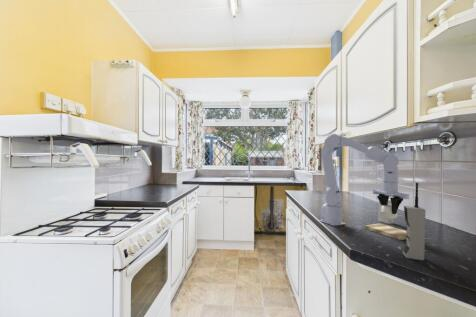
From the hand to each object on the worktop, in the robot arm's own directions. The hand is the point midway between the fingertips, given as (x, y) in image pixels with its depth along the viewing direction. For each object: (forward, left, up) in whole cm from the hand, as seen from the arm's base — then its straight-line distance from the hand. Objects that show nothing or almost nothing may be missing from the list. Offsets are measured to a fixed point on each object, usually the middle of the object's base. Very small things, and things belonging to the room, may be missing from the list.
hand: (389, 212), depth 104 cm
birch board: (0, 0, -9) cm, 9 cm away
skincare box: (-12, +16, -9) cm, 22 cm away
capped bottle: (0, 0, -2) cm, 2 cm away
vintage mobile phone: (+20, -18, -9) cm, 28 cm away
